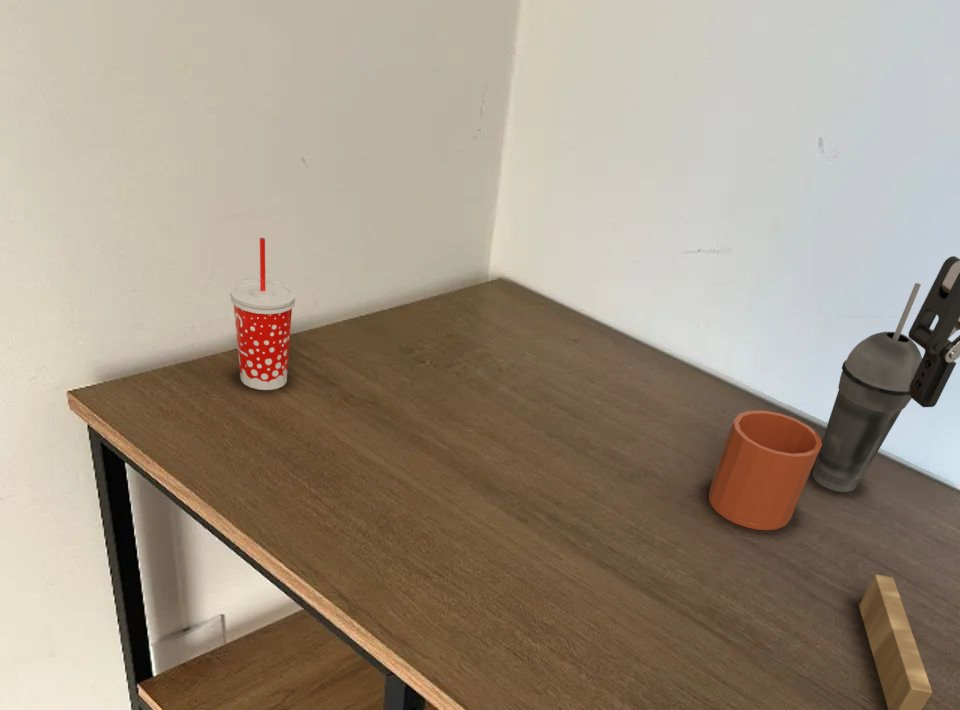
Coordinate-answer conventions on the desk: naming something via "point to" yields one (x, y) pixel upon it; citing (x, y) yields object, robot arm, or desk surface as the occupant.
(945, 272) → the robot arm
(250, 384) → the beverage cup
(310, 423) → the desk surface
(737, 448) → the utensil cup
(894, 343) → the beverage cup
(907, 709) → the wooden block
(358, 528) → the desk surface
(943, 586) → the desk surface
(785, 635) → the desk surface
